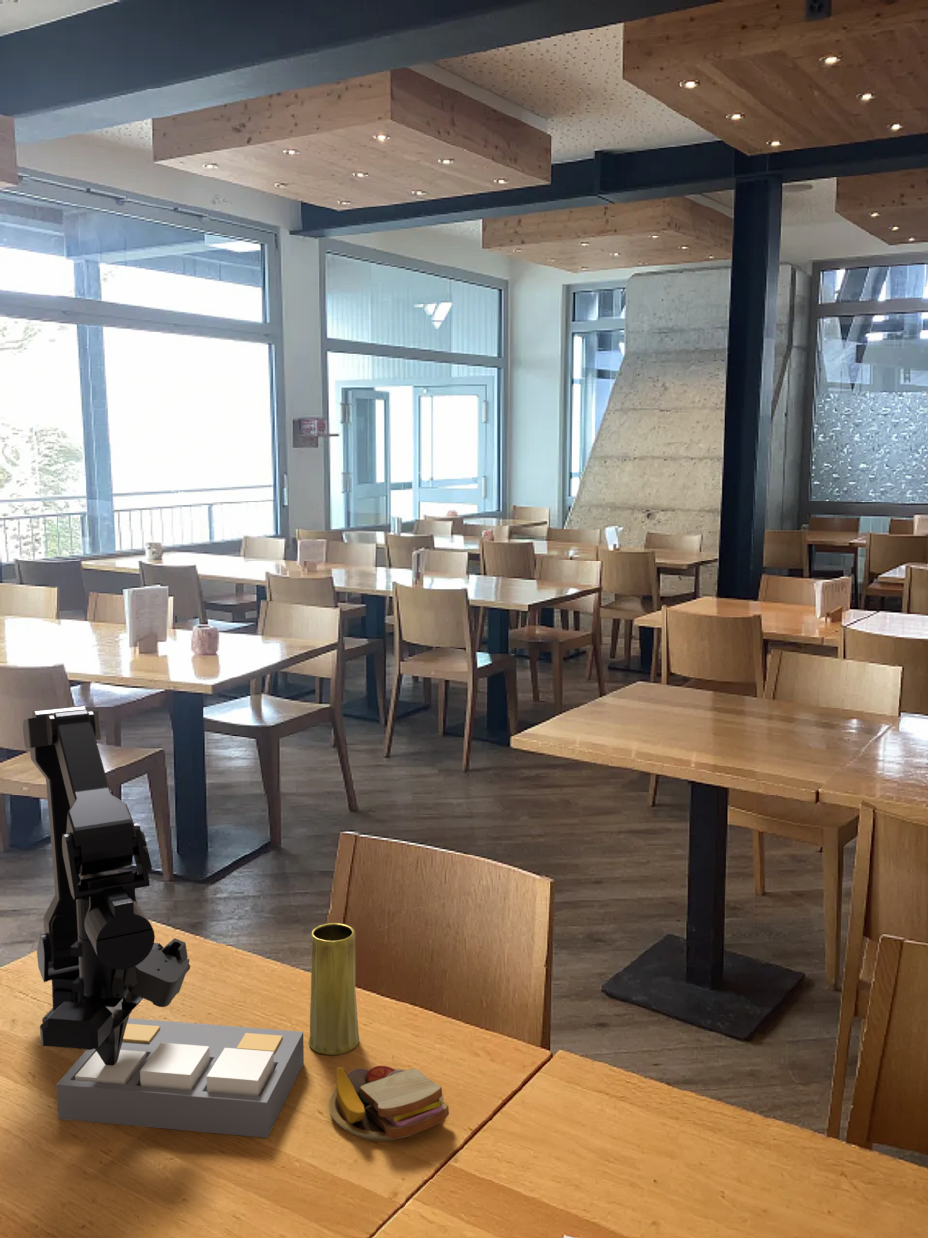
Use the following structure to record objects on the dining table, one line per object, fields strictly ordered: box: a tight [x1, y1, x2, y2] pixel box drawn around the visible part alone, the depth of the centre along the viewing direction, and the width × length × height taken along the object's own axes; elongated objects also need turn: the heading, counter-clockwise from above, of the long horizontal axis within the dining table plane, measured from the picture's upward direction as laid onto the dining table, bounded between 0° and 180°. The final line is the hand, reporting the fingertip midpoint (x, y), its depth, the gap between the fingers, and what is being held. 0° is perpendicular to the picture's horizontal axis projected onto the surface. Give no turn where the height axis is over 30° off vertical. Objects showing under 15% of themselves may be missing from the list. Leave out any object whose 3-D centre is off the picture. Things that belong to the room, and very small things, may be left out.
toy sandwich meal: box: [328, 1065, 450, 1142], centre depth 116 cm, size 12×14×5 cm
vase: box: [308, 922, 360, 1056], centre depth 129 cm, size 6×6×14 cm
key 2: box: [207, 1048, 274, 1096], centre depth 115 cm, size 6×6×2 cm
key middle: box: [140, 1043, 210, 1090], centre depth 116 cm, size 6×6×2 cm
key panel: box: [55, 1017, 305, 1139], centre depth 119 cm, size 23×14×4 cm, turn 83°
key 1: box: [75, 1050, 146, 1085], centre depth 117 cm, size 6×6×2 cm
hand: (111, 1063), depth 117 cm, fingers closed, pressing on key 1
